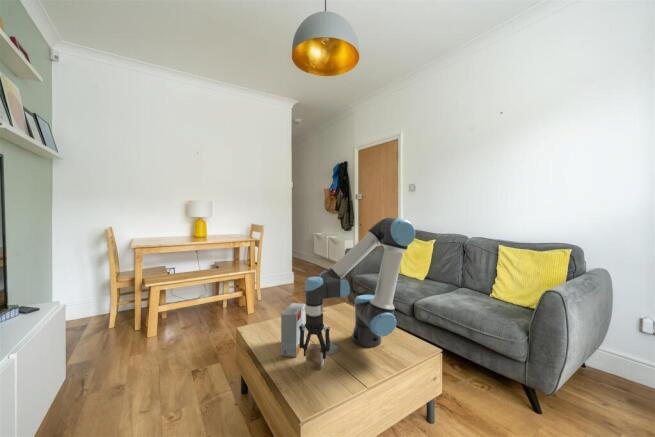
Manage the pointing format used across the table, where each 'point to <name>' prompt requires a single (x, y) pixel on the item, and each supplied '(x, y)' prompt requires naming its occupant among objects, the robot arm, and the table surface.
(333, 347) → the slate coaster
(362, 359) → the table surface
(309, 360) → the walnut block
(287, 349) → the hard drive box
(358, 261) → the robot arm
